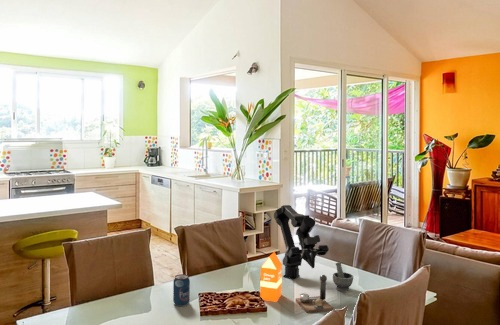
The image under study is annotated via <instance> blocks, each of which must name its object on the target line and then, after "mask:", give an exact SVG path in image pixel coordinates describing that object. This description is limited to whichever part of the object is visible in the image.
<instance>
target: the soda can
mask: <svg viewBox="0 0 500 325" xmlns="http://www.w3.org/2000/svg"><path fill="white" fill-rule="evenodd" d="M190 281H191V280H190V278H189V275H187V274H185V273H183V274H177V275H175V277H174V278H173V290H172V291H173V292H172V293H173V303H174V305H175V306H177V307H185V306H187V305H188V304H189V303H190V292H191V291H190V288H191V287H190V286H191V284H190V283H191V282H190Z"/></svg>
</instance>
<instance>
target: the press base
mask: <svg viewBox="0 0 500 325" xmlns="http://www.w3.org/2000/svg"><path fill="white" fill-rule="evenodd" d="M309 298H320V295H318V296H309ZM295 302H296V304H298V306H299V307H300V308H301V309H303V311H304V312H306V313H307V314H312V313H321V312H323V313H324V312H330V311H331V310H332V311H334V307H333V305H331V304H330V303H329V302H328V301H327V300H326V299H325V300H323V302H322V300H321V299H317V300H316V301H315V300H313V302H307V303H303V302H300V297H299V298H295Z"/></svg>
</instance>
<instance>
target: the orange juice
mask: <svg viewBox="0 0 500 325" xmlns="http://www.w3.org/2000/svg"><path fill="white" fill-rule="evenodd" d="M282 271H283V263H282V262H281V261H280V259H279V257H278V256H277V254H276V252H275V251H273V253H271V254H270V255H269V256H268V258H267V259H266V260H265V262H263V264H262V265H261V267H260V283H259V284H260V288H259V289H260V291H259V292H260V293H259V294H260V295H259V296H260V297H261V298H262V299H264V300H263V301H269V302H274V303H277V302H278V300H279V299H280V297H281V296H282V284H283V283H282V282H283V276H282V275H283V272H282ZM260 297H259V298H260Z"/></svg>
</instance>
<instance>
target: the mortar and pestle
mask: <svg viewBox="0 0 500 325" xmlns="http://www.w3.org/2000/svg"><path fill="white" fill-rule="evenodd" d="M335 266H336V272H334V273H333V274H332V281H333V283H334V285H335V286H336V288H335V289H336V290H337V291H338V292H341V293H342V292H345V293H346V292H349V290H350V287H351V286H352V284H353V281H354V274H352V273H349V272H344V270H343V268H342V262H341V261H340V262H338V261H337V262H336V263H335Z"/></svg>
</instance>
